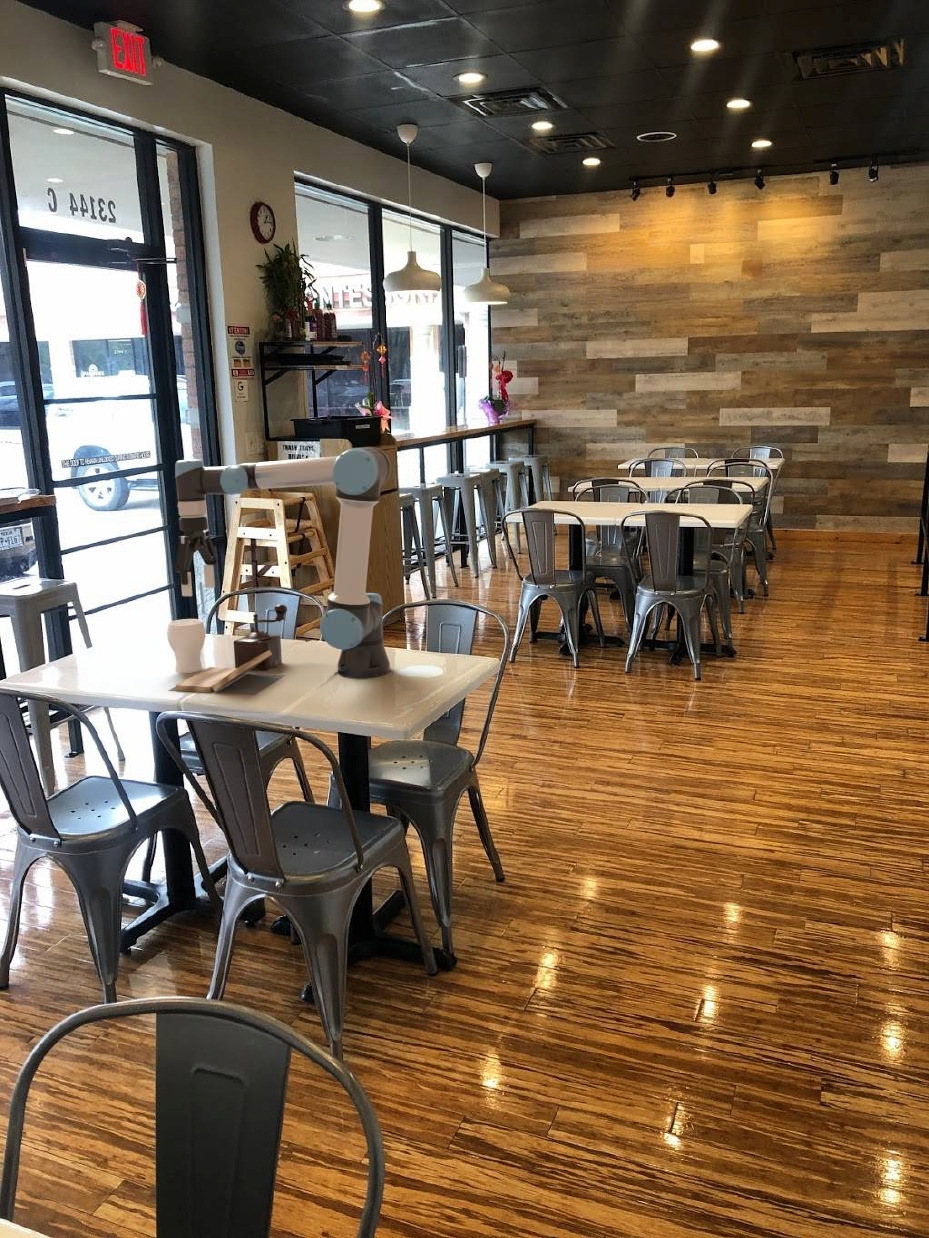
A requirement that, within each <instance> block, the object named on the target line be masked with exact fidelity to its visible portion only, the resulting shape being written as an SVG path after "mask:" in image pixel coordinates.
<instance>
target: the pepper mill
mask: <svg viewBox="0 0 929 1238" xmlns="http://www.w3.org/2000/svg"><path fill="white" fill-rule="evenodd" d="M274 612H275V613H276V615H275V616H276V617H275V619H259V617H258V615H259V614H257V613H254V614H253V622H254V631H252V632H250V633H248V634H247V635H245V636H243V637H240V638H238V639H236V640H233V655H234V656H233V657H234V668H238V667H240V666H242V665H243V664H245V663H247V662H249V661H250V660H252V659H254V658H256V657H258V656H259V655H261V654H263V653H265V652H266V651H268V650H270V651H271V653H272V655H271V656H269V657H268V658H266V659H265V660H264V661H262V662H261V663H259V664H258V665H257V666H255V667H254V668H252V669H251V670H250V671H259V672H267V671H269V670H271V669H275V668H277V667H278V666H279V665H281V664H282V663H283V661H282V643H281V641H282V639H281V635H276V634H269V632H268V631H266V632H265V631H263V630H262V631H260V630H259V623H267V624H269V623H276V622H277V623H278V622H279V623H281V622H282V621H285V615H286V614H287V612H288V606H286V605H285V604H280V603H279V604H277V605H275V606H274Z"/></svg>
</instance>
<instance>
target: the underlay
mask: <svg viewBox="0 0 929 1238" xmlns="http://www.w3.org/2000/svg"><path fill="white" fill-rule="evenodd" d="M285 676H286V674H266V673H265V674H264V673H248V672H247V673H245V674H243V675H242V676H240V677H238V678H237V679H235V680H233V681H232V682H230V683H228V684H226V685H225V686H223V687H221V688H220V689H218V690H216V691H212V692H197V693H203V694H217V695H218V694H222V695H223V694H224V695H236V696H237V695H241V696H242V695H243V696H256V695H258V693H260V692H262V691H264V690H265V689H266V688H268V687H270V686H271V685H273V684H274V683H276V682H278V681H279V680H280V679H282V678H284V677H285ZM167 691H168V692H177V691H176V686H174V687H172V688H170V689H168V690H167ZM178 692H181V693H194V692H193V691H178Z"/></svg>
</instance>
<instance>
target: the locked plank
mask: <svg viewBox="0 0 929 1238" xmlns="http://www.w3.org/2000/svg"><path fill="white" fill-rule="evenodd" d="M236 669H237V668H235V667H234V668H233V667H217V666H216V667H215V666H209V667H208V668H206V669H204V670H201V671H200V672H198V673H196V674H194V675H192V676H191V677H188V678H187V679H185V680H183V681H181V682H180V683H178V684H176V685H175V687H176V691H175V692H179V691H193V692H192V693H198V692H212V691H214V689H213V688H212V686H213V685H215V684H216V683H217V682H219V681H220V680H222V679H223V678H224V677H226V676H227V675H229V674H230V673H231V672H233V671H234V670H236Z"/></svg>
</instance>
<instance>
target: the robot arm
mask: <svg viewBox="0 0 929 1238" xmlns="http://www.w3.org/2000/svg"><path fill="white" fill-rule="evenodd" d="M174 466H175V467H174V468H175V476H174V478H175V484H176V493H177V494H176V495H177V508H178V515H179V516H180V517H179V519H178V521H179V530H180V531H181V532H184V535H181V536H178V549H177V553H176V561H175V568H174V571H175V572H176V573H177V574H180V585H181V595H182V597H193V587H192V585H193V584H192V574H191V573H192V572H191V571H190V568H191V564H192V561H193V558H194V554H195V553H196V552H197V551H198V553H199V555H200V557H201V559H202V560H203V562H204V564H203V573H204V575H203V577H204V588H205V589H207V588H209V589H211V588H212V589H214V588H216V582H215V580H216V579H215V570H214V565H217V563H218V557H217V553H216V551H215V548H214V545H213V541H212V538H211V532H210V530H208V528H209V527H208V526H209V525H208V524H209V523H208V516H206V515H207V514H208V511H207V502H206V495H230V496H233V495H241V494H244V493H245V492H246V491H254V490H255V491H256V490H265V489H266V490H267V489H280V488H296V487H309V486H322V485H335V486H336V488H335V489H336V490H335V498H336V500H337V501H338V502H339V503H340V509H339V510H340V512H339V524H338V534H337V547H336V557H335V573H334V581H333V583H334V585H333V591H332V592H331V593H330V594H329V595H328V596H327V599H326V600H327V601H326V611H325V613H324V614H323V616H322V617H321V619H320V624H319V631H320V634H321V637H322V638H323V640H324V641H325V642H326V643H327V644H328V645H329V646H330V647H332V648H334V649H336V650H341V651H340V655H339V658H338V662H337V667H336V668H337V673H338V674H339V675H340V676H343V677H348V678H373V677H378V676H383V675H387V674H388V673H389V672H390V671H391V663H390V662H391V661H390V659H389V657H388V654H387V652H386V649H385V646H384V626H383V623H384V621H383V605H384V604H383V600H382V596H381V594H379V593H377V592H376V593H375V592H367V591H366V590H367V580H368V579H367V578H368V570H369V569H368V568H369V567H368V566H369V559H370V558H369V557H370V556H369V555H370V545H371V544H370V542H371V533H372V524H373V523H372V521H373V514H374V513H373V512H374V511H373V510H374V506H376V505H377V504H378V503H380V496H381V488H382V487H383V486H384V485H385V484H386V483H387V482H388V480H389V478H390V476H391V473H392V463H391V461H390V458H389V456H388V455H387V454H386V453H385V452H384V451H383V450H382V449H380V448H378V447H374V446H363V447H353V448H349V449H347V450H346V451H344V452H342V453H340V455H336V456H323V457H312V458H311V457H310V458H299V459H298V458H297V459H287V460H274V461H262V462H261V461H260V462H242V463H239V464H232V465H224V466H205V465H204V462H203V459H202V460H201V459H181V460H177V461H176V462H175V465H174Z"/></svg>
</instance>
